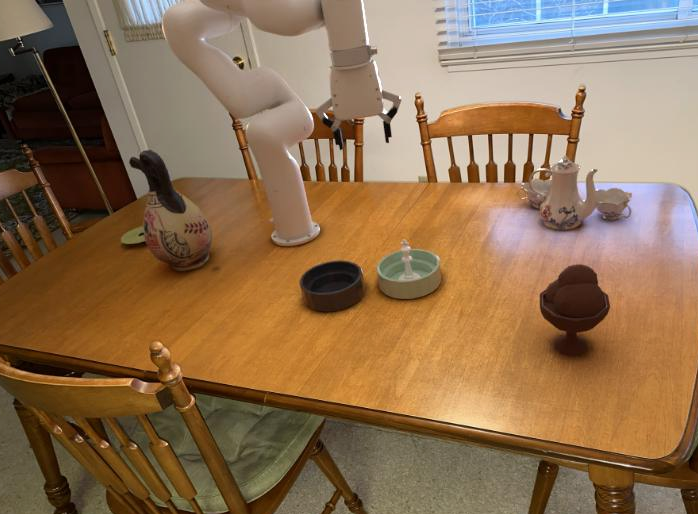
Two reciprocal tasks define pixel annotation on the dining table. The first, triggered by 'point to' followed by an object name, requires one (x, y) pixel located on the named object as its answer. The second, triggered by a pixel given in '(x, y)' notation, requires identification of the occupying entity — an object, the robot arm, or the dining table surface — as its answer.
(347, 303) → the dark bowl
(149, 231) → the ceramic jug
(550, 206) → the chinaware
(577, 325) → the ice cream bowl
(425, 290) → the green bowl
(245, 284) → the dining table surface
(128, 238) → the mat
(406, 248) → the chess piece
